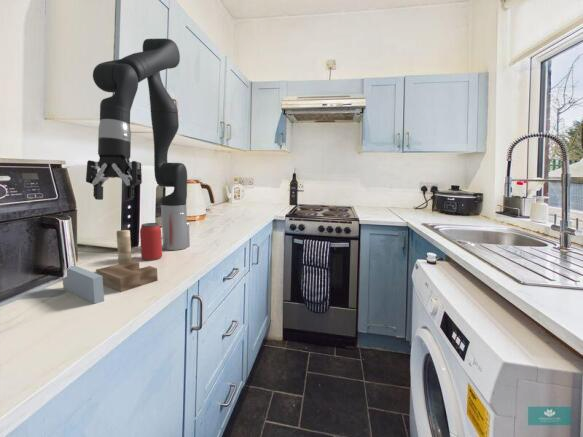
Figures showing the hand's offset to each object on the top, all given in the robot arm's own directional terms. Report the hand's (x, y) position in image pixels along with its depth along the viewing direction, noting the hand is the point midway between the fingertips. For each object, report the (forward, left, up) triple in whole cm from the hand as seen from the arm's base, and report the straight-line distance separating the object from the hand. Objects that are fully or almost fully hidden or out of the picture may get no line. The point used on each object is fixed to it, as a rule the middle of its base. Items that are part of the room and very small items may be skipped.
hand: (113, 199), depth 81 cm
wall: (+11, +4, -22) cm, 25 cm away
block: (0, +4, -22) cm, 22 cm away
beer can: (-17, -11, -22) cm, 30 cm away
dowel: (-5, -6, -22) cm, 23 cm away
